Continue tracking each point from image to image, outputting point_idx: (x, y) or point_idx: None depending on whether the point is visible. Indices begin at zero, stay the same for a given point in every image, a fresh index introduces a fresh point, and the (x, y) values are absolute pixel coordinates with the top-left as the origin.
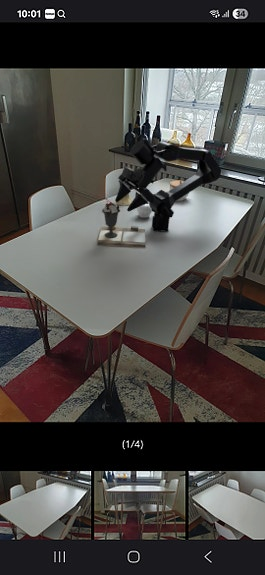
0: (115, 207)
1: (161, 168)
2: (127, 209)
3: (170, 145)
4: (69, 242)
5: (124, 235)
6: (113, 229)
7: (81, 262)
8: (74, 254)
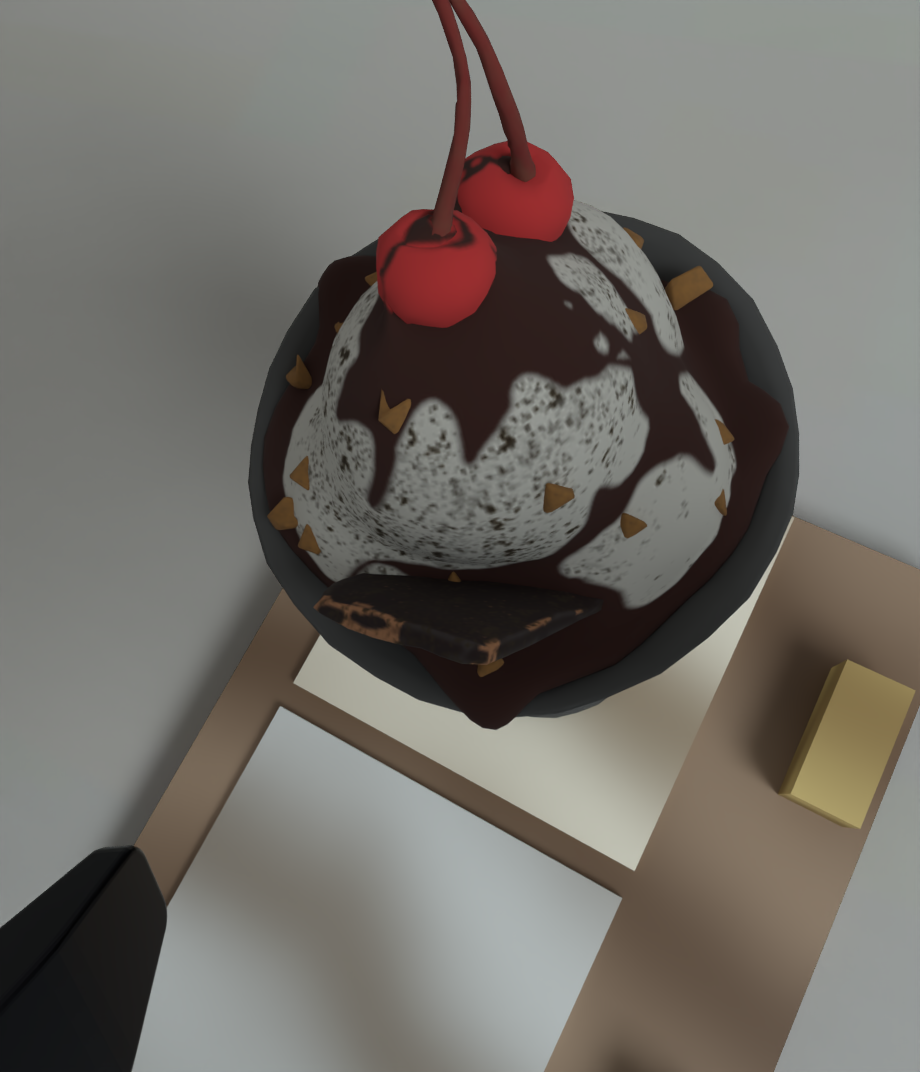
0: (341, 467)
1: None
2: (92, 855)
3: None
4: (602, 81)
5: (459, 834)
6: (782, 752)
7: (103, 118)
8: (291, 85)
